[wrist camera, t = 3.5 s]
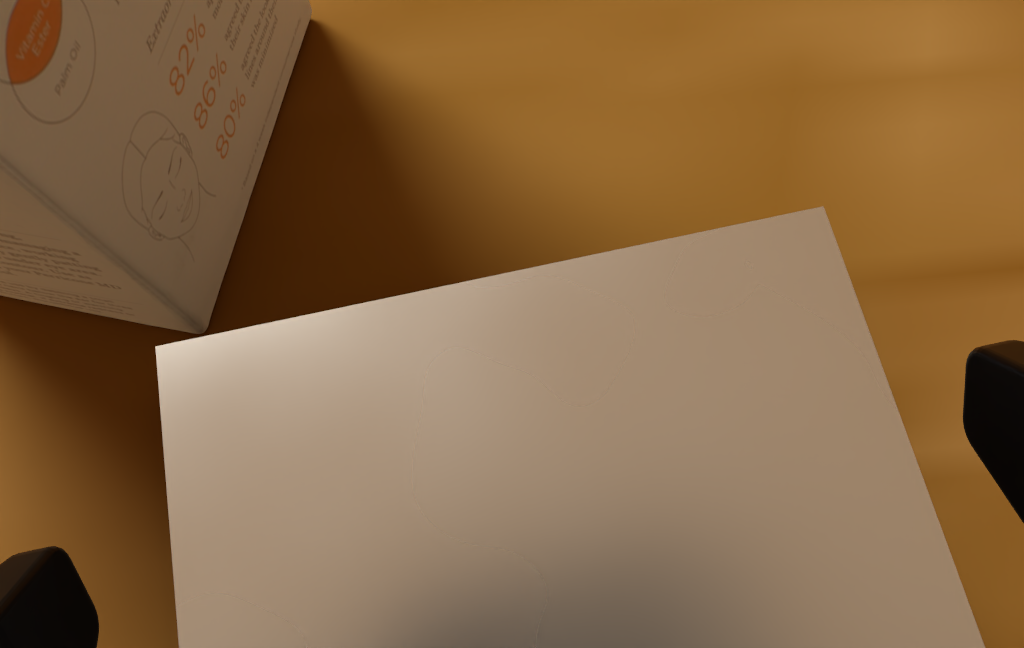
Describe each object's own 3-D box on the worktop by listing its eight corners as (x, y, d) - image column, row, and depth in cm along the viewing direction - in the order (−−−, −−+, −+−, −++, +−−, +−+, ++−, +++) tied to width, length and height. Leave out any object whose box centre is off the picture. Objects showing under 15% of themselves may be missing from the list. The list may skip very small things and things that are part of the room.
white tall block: (720, 743, 13) (1138, 1014, 4) (450, 805, 13) (206, 1239, 4) (649, 474, 15) (832, 191, 5) (403, 527, 15) (140, 336, 5)
